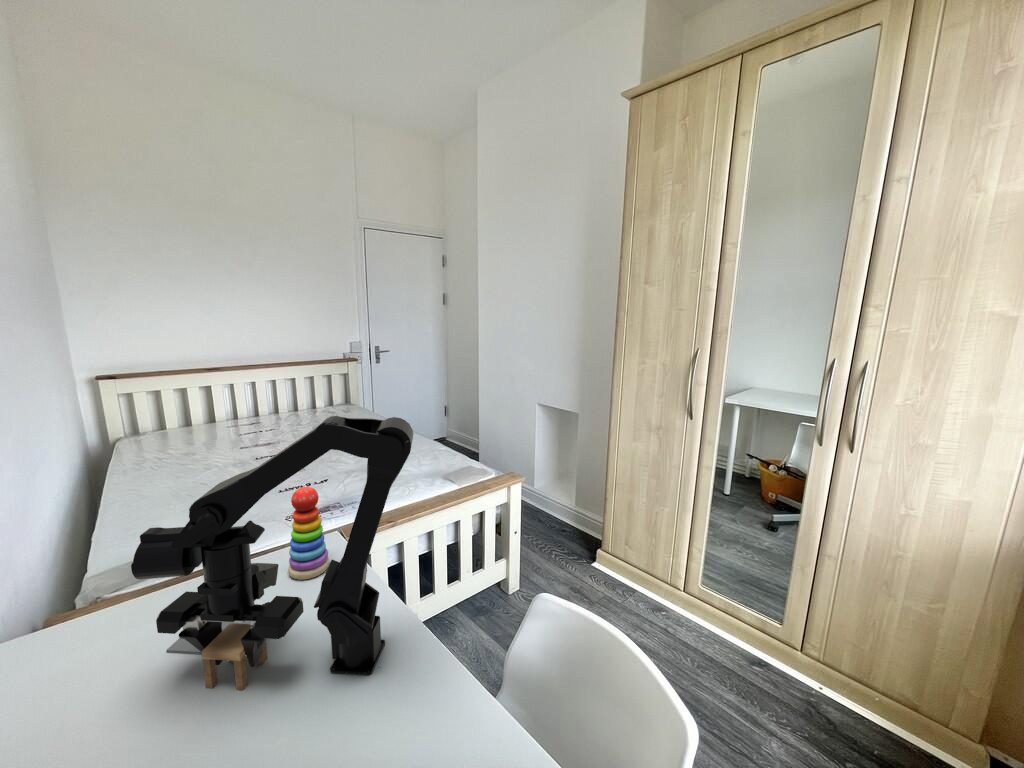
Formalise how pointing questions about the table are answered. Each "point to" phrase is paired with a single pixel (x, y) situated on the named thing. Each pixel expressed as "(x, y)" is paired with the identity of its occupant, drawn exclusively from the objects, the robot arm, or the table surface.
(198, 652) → the mat
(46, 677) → the table surface
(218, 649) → the stool
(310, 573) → the stacking toy
